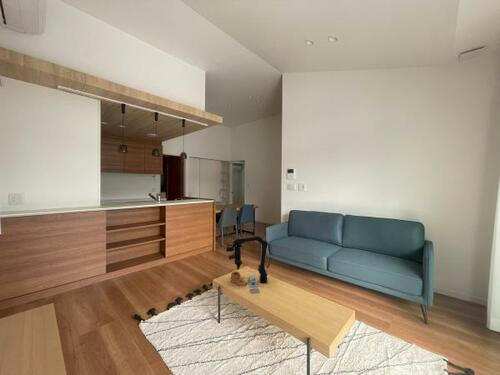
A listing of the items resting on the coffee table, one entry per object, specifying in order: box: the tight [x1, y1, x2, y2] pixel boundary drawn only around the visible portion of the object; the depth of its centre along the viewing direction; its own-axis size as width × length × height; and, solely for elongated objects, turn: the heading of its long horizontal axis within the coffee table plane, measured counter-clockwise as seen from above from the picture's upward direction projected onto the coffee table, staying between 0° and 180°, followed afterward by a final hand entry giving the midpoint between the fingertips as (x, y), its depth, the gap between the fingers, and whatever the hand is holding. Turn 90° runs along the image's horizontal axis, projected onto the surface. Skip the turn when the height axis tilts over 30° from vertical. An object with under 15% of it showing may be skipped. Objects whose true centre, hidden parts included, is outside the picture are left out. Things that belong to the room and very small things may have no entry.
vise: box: [247, 276, 259, 289], centre depth 190 cm, size 8×10×5 cm
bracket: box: [230, 271, 248, 288], centre depth 195 cm, size 18×8×7 cm, turn 42°
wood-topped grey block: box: [249, 273, 258, 285], centre depth 189 cm, size 6×3×9 cm, turn 97°
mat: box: [249, 287, 261, 295], centre depth 179 cm, size 8×8×1 cm
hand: (237, 267), depth 195 cm, fingers open, 9 cm apart
